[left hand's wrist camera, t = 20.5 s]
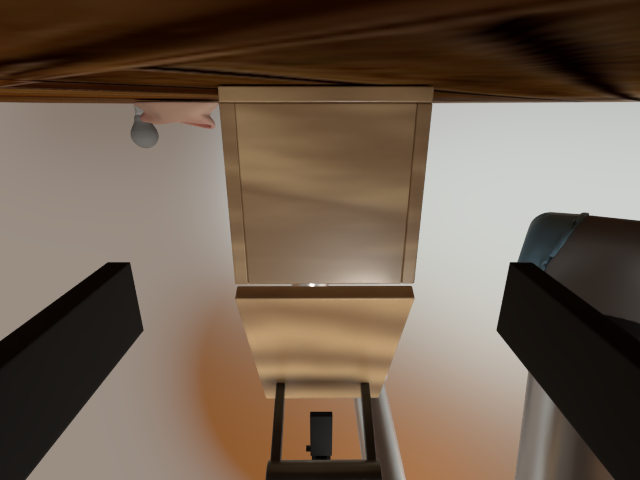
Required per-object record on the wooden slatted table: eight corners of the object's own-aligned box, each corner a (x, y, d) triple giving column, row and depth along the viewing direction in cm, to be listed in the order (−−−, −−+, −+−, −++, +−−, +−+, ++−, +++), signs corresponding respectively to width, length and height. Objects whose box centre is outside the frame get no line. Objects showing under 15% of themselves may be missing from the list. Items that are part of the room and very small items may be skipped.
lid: (377, 387, 32) (390, 502, 27) (266, 388, 32) (256, 503, 27) (412, 285, 20) (448, 453, 15) (236, 285, 20) (206, 454, 15)
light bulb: (147, 103, 81) (154, 149, 85) (157, 104, 87) (163, 146, 91) (120, 103, 81) (128, 149, 85) (132, 104, 87) (139, 146, 90)
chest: (380, 95, 31) (374, 210, 34) (263, 95, 31) (269, 210, 34) (434, 85, 16) (414, 283, 20) (217, 85, 16) (235, 284, 20)
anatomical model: (132, 135, 45) (227, 133, 48) (126, 100, 43) (224, 101, 47) (142, 129, 56) (218, 128, 60) (138, 102, 55) (216, 102, 59)
